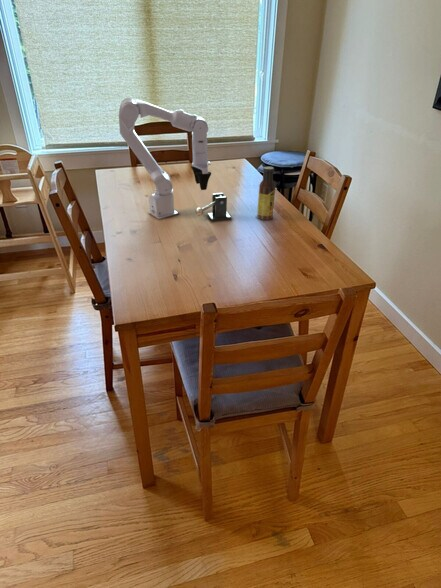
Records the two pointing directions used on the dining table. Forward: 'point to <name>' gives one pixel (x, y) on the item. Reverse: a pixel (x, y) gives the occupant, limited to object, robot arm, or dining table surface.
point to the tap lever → (200, 210)
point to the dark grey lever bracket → (219, 208)
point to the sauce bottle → (266, 195)
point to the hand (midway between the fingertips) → (201, 186)
